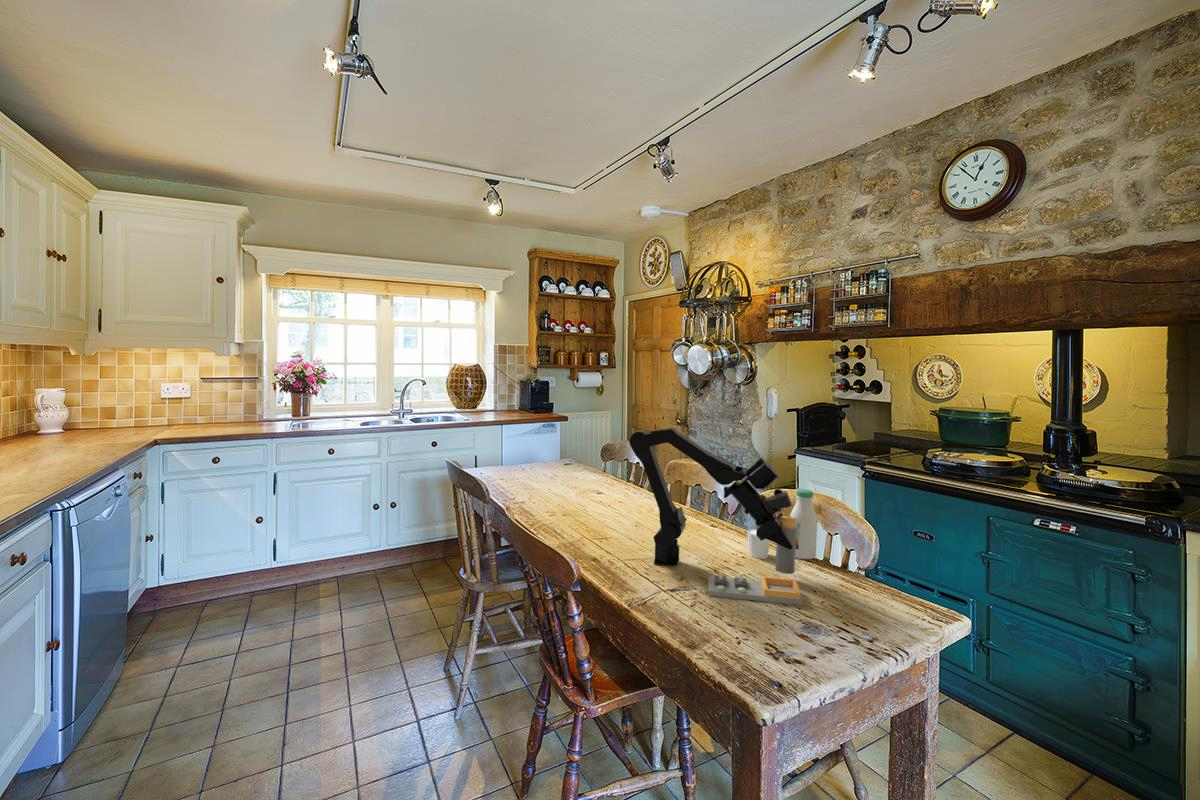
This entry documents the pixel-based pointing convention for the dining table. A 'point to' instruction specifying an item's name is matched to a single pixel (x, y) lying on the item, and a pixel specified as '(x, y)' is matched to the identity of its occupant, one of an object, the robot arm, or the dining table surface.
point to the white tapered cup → (757, 545)
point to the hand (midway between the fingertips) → (791, 545)
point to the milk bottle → (805, 525)
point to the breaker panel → (756, 589)
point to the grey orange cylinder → (784, 555)
